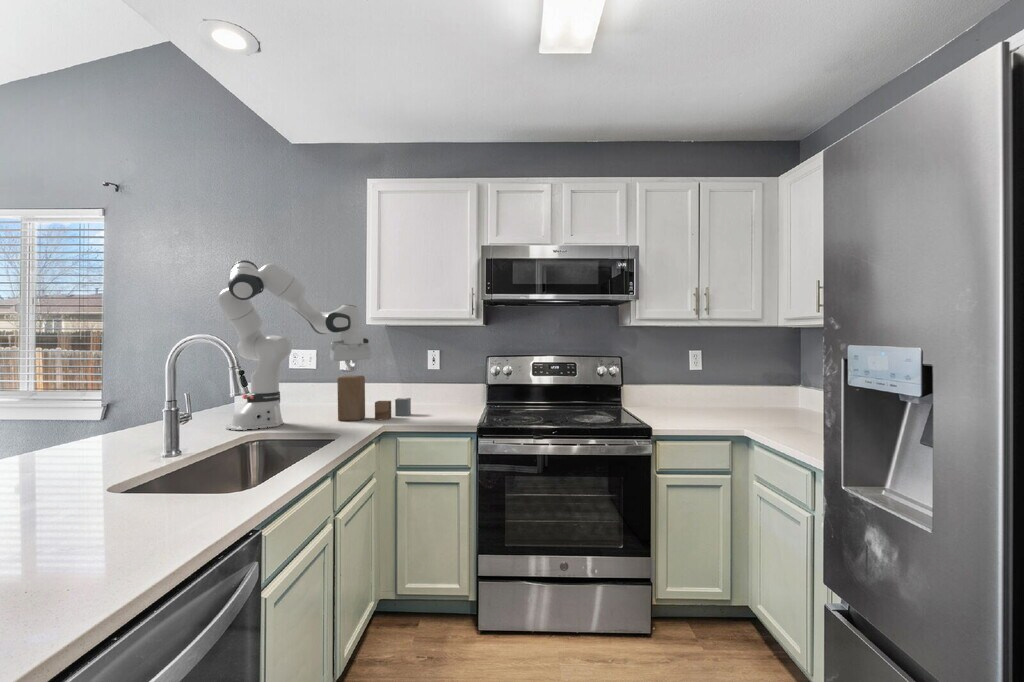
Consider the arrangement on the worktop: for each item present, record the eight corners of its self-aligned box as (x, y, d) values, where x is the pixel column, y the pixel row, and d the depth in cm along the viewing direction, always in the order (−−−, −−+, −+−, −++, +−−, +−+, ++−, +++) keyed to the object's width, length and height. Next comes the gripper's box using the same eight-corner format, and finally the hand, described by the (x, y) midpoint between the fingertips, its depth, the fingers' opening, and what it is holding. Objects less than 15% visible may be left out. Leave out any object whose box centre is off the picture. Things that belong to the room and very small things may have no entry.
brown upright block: (387, 419, 237) (387, 401, 237) (374, 419, 237) (374, 401, 237) (391, 417, 243) (391, 400, 243) (378, 417, 243) (378, 400, 243)
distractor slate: (407, 416, 246) (407, 399, 246) (395, 416, 247) (395, 399, 247) (410, 414, 252) (410, 397, 252) (398, 414, 253) (398, 397, 253)
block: (359, 421, 233) (358, 377, 233) (337, 421, 233) (336, 377, 233) (365, 417, 243) (365, 375, 243) (344, 417, 243) (344, 375, 243)
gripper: (335, 340, 227) (335, 372, 228) (373, 339, 244) (373, 369, 244) (326, 340, 231) (327, 371, 231) (364, 339, 247) (365, 368, 248)
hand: (351, 370), depth 238 cm, fingers closed
